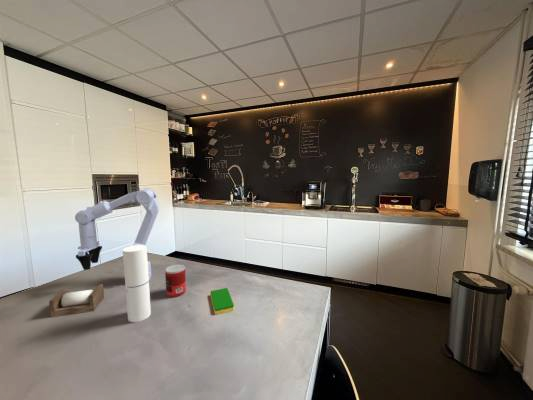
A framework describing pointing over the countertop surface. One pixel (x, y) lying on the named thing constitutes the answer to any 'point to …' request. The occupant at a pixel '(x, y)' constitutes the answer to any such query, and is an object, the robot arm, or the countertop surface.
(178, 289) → the canned food
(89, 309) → the holder
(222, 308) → the dish sponge
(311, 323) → the countertop surface
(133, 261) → the cylindrical container
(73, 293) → the roll
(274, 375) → the countertop surface
